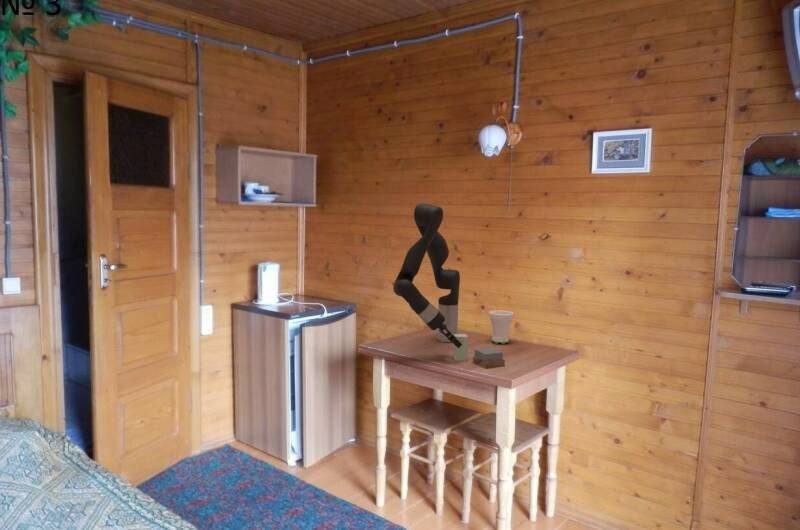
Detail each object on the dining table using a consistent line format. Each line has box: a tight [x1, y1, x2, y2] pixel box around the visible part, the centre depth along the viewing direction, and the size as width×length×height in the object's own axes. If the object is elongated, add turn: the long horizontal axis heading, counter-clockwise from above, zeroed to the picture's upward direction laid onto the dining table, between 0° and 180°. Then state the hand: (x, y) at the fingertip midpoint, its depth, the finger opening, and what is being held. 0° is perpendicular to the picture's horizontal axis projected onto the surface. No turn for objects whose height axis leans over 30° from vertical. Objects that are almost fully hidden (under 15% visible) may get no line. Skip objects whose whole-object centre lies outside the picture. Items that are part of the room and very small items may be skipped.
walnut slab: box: [472, 356, 506, 370], centre depth 231 cm, size 9×9×3 cm
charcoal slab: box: [474, 347, 504, 362], centre depth 231 cm, size 8×8×3 cm
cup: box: [488, 309, 514, 345], centre depth 267 cm, size 11×11×14 cm
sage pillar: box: [452, 333, 469, 362], centre depth 237 cm, size 5×5×10 cm
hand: (458, 343), depth 237 cm, fingers open, 8 cm apart
